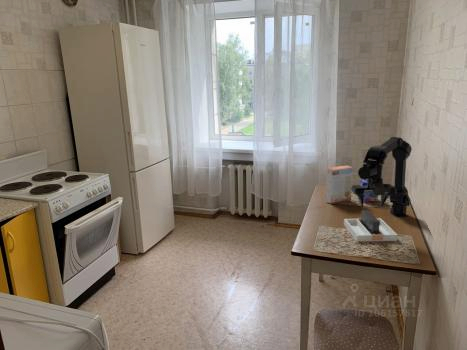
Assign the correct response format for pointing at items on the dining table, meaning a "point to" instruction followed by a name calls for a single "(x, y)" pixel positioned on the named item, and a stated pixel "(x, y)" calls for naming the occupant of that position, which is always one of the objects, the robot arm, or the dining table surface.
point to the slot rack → (363, 234)
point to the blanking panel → (370, 222)
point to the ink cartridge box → (368, 193)
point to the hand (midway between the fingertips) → (371, 206)
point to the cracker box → (339, 184)
